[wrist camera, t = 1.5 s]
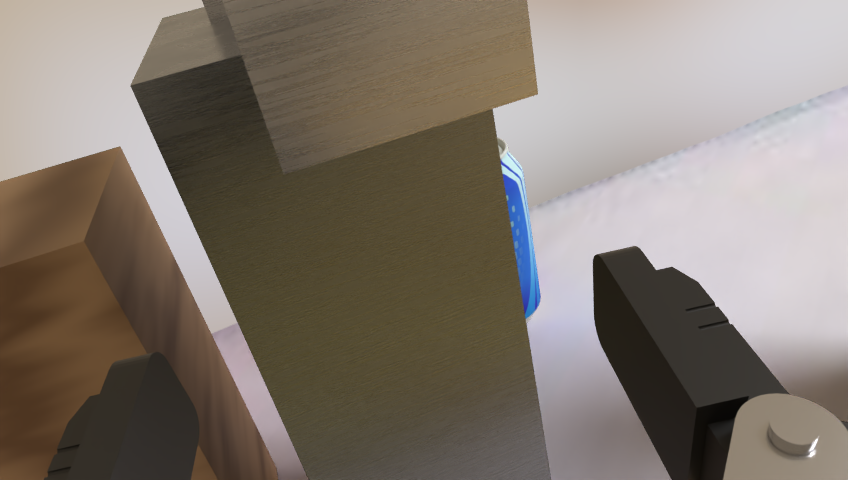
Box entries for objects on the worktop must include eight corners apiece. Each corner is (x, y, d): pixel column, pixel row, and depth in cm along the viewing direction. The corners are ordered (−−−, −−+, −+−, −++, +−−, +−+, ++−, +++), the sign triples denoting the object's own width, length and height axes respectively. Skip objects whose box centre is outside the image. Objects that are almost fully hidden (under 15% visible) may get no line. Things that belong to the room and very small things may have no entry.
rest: (276, 468, 46) (120, 146, 33) (297, 621, 36) (83, 241, 23) (168, 511, 45) (-38, 192, 32) (158, 683, 34) (-152, 315, 22)
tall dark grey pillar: (475, 431, 45) (364, -37, 29) (594, 647, 31) (506, -13, 16) (344, 485, 43) (152, 18, 28) (410, 738, 30) (103, 101, 14)
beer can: (445, 345, 54) (405, 182, 46) (455, 289, 61) (422, 138, 53) (543, 339, 52) (518, 168, 44) (541, 281, 59) (520, 124, 51)
